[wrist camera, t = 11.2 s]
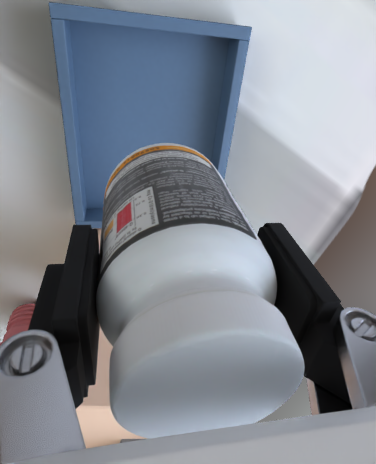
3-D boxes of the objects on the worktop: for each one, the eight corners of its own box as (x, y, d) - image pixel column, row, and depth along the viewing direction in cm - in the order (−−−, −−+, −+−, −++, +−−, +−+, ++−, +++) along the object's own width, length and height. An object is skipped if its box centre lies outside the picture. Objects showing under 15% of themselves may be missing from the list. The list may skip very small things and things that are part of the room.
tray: (56, 3, 18) (48, 1, 16) (239, 25, 21) (252, 26, 19) (79, 211, 26) (75, 229, 24) (209, 211, 29) (215, 227, 27)
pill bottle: (80, 204, 15) (27, 429, 7) (160, 110, 13) (215, 267, 5) (169, 259, 18) (205, 464, 10) (244, 188, 16) (368, 369, 8)
